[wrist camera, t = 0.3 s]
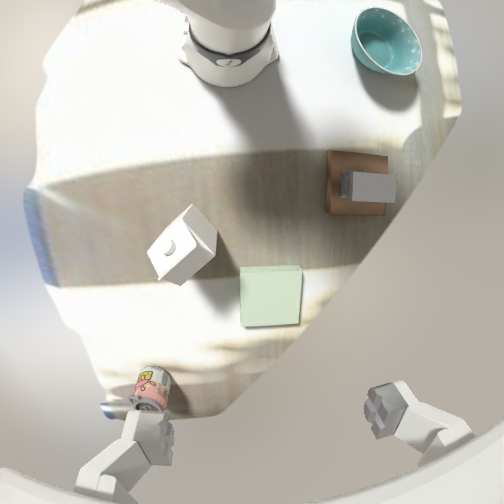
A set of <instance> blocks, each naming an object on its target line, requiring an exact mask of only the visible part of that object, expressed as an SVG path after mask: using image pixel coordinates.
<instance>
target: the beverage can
mask: <svg viewBox="0 0 504 504" xmlns="http://www.w3.org/2000/svg"><path fill="white" fill-rule="evenodd" d="M170 386H171V378H170V376H169V374H168V373H167V372H166V371H165V370H163V369H162V368H159V367H156V366H148V367H145V368H144V369H142V370H141V372H140V374H139V377H138V381H137V384H136V387H135V390H134V393H133V395H130V396H128V399H129V400H130V402H131V403H132V404H133V408H134V410H144V411H159V412H163V411H165V409H166V408H167V402H168V396H169V391H170Z"/></svg>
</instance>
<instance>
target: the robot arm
mask: <svg viewBox="0 0 504 504" xmlns="http://www.w3.org/2000/svg"><path fill="white" fill-rule="evenodd" d="M155 1H158V2H161V3H164V4H166V5H169V6H171V7H173V8H175V9H177V10H179V11H181V12H182V13H184V14H185V15H186V18H185V21H186V22H187V25H186V28H185V29H184V35H183V38H182V41H181V45H180V48H179V51H178V59H179V60H180V61H181V62H183V63H185V64H187V65H189V66H190V67H191V68H192V69H193V70H194V72H195V73H196V74H197V75H198V76H199V77H200V78H201V79H202V80H204V81H205V82H207V83H209V84H212V85H215V86H220V87H234V86H239V85H242V84H245V83H247V82H249V81H251V80H252V79H254V78H255V77H256V76H257V75H258V74H259V73H260V72H261V71H262V69H263V68H264V67H265V66H266V65H268V64H270V63H272V62H274V61H275V60H276V59H277V58H278V56H279V52H278V48H277V45H276V41H275V37H274V33H273V30H272V26H271V19H272V17H273V14H274V11H275V7H276V0H155ZM272 50H273V51H272ZM368 397H369V398H368V399H367V400H366V401H365V404H364V413H365V417H366V419H367V421H368V422H370V423H372V427H371V429H372V431H373V433H374V435H375V437H376V439H380V438H383V437H386V436H390V435H393V434H394V435H395V436H396V437H398V438H399V439H401V440H402V441H404V442H406V443H407V444H409V445H410V446H412V447H413V448H415V449H416V450H418V451H420V452H421V453H423V456H422V457H421V459H420V460H419V461H418V463H417V465H418V468H416V469H414V470H412V471H410V472H407V473H405V474H403V475H400V476H397V477H395V478H392V479H389V480H387V481H384V482H381V483H379V484H375V485H373V486H370V487H367V488H363V489H360V490H357V491H354V492H350V493H347V494H343V495H339V496H335V497H331V498H327V499H323V500H318V501H313V502H309V503H303V504H504V418H503V419H502V420H500V421H499V422H498V423H496V424H495V425H493V426H492V427H490V428H489V429H487V430H486V431H484V432H483V433H481V434H480V435H478V436H475V435H474V434H473V432H472V431H471V429H470V428H469V427H468V425H467V424H466V423H465V421H464V420H463V419H461V418H459V417H457V416H454V415H452V414H449V413H447V412H444V411H442V410H439V409H437V408H435V407H433V406H430V405H428V404H425V403H423V402H421V403H419V401H418V400H417V399H416V397H415V396H414V395H413V393H412V392H411V390H410V389H409V388H408V386H407V385H406V384H405V383H404V381H403V380H398V381H394V382H391V383H387V384H384V385H380V386H376V387H373V388H370V389H369V391H368ZM168 420H169V416H168V414H167V412H159V411H144V410H130V411H129V412H128V414H127V418H126V421H125V425H124V428H123V432H122V436H121V439H117V440H116V441H115V442H113V443H112V444H111V445H109V446H108V447H107V448H106V449H105V450H103V451H102V452H101V453H100V454H98V455H97V456H96V457H95V458H93V459H92V460H91V461H90V462H89V463H87V464H86V465H84V466H83V467H82V468H81V469H80V472H79V476H78V478H77V482H76V485H75V488H74V492H70V491H67V490H64V489H61V488H57V487H55V486H52V485H49V484H46V483H44V482H41V481H38V480H36V479H33V478H31V477H29V476H26V475H24V474H22V473H19V472H17V471H15V470H13V469H10V468H7V467H3V468H0V504H138V502H137V501H136V500H135V499H134V498H133V497H132V496H131V495H130V494H129V493H128V492H129V491H130V490H131V489H132V488H133V486H135V484H136V483H137V482H138V481H139V480H140V479H141V477H142V476H143V475H144V474H145V473H146V472H147V470H148V469H149V468H150V467H151V465H164V466H171V465H172V454H173V453H172V450H171V448H170V447H172V446H173V445H174V430H173V427H172V424H171V423H169V422H168Z"/></svg>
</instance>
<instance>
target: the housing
mask: <svg viewBox="0 0 504 504" xmlns="http://www.w3.org/2000/svg"><path fill="white" fill-rule="evenodd" d="M396 188H397V175H389V174H383V173H374V172H362V171H349V170H340V186H339V197H348V198H349V200H351V201H364V202H386V203H395V202H396Z"/></svg>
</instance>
